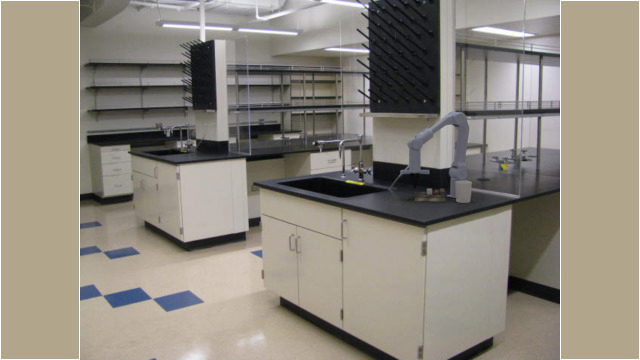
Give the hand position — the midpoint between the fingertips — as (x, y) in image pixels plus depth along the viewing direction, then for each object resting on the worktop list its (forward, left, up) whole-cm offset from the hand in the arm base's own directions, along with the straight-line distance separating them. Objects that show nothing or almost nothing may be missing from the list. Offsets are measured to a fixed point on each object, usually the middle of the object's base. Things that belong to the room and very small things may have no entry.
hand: (414, 188), depth 262 cm
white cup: (-15, +19, -6) cm, 25 cm away
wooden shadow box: (-6, +5, -6) cm, 9 cm away
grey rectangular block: (-6, +5, -4) cm, 8 cm away
